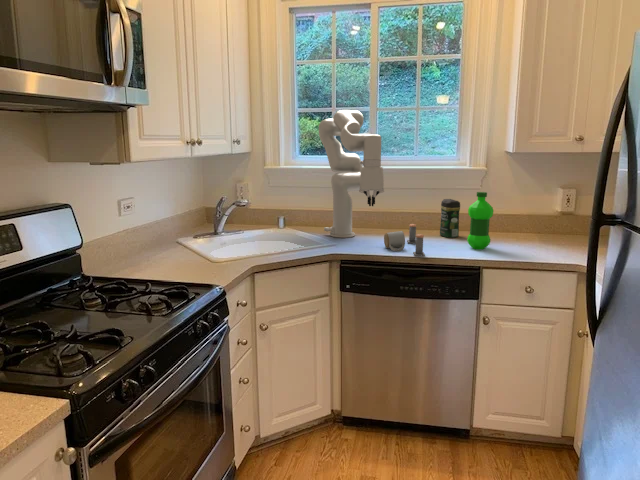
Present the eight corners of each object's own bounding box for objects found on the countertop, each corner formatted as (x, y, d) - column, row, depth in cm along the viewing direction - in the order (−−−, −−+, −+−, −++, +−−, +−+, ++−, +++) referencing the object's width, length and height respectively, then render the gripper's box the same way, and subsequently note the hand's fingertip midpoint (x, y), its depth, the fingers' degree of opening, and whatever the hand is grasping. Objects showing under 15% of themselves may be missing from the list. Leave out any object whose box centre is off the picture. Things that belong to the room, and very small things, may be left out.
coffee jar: (437, 234, 251) (438, 198, 247) (451, 234, 253) (453, 197, 249) (446, 238, 242) (448, 200, 238) (461, 237, 244) (463, 200, 240)
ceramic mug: (382, 246, 225) (383, 230, 223) (400, 245, 226) (400, 229, 224) (389, 252, 215) (389, 235, 213) (407, 251, 216) (408, 234, 214)
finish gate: (414, 256, 207) (415, 236, 206) (406, 241, 235) (407, 223, 233) (424, 256, 207) (425, 236, 205) (416, 241, 235) (417, 223, 233)
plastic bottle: (461, 246, 225) (465, 191, 219) (482, 245, 227) (486, 190, 222) (473, 251, 215) (477, 194, 210) (495, 250, 218) (499, 193, 213)
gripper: (354, 164, 211) (354, 207, 215) (390, 164, 210) (389, 207, 214) (354, 163, 218) (354, 204, 222) (389, 163, 218) (387, 204, 221)
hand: (371, 205), depth 218 cm, fingers closed
